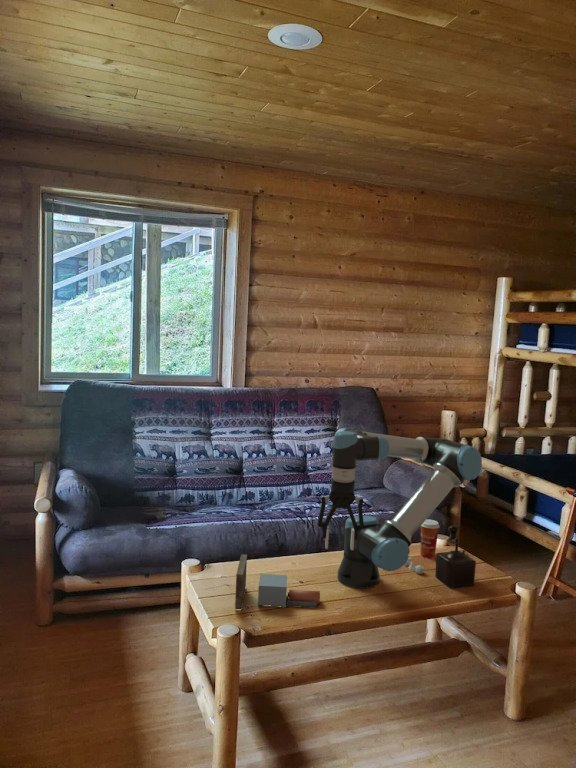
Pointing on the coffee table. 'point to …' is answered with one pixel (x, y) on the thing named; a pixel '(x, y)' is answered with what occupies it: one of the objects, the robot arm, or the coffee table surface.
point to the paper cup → (429, 538)
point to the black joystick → (455, 565)
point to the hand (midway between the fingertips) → (339, 547)
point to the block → (272, 590)
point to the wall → (240, 581)
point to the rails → (301, 603)
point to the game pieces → (418, 568)
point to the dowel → (304, 595)
